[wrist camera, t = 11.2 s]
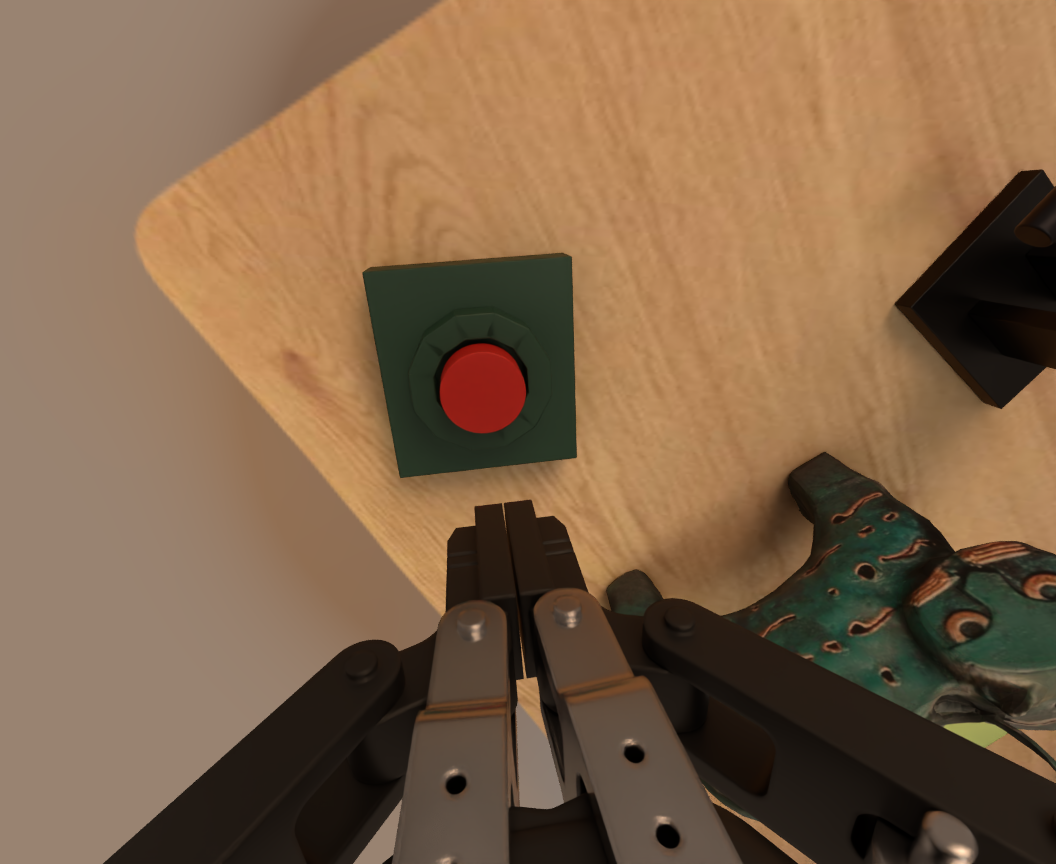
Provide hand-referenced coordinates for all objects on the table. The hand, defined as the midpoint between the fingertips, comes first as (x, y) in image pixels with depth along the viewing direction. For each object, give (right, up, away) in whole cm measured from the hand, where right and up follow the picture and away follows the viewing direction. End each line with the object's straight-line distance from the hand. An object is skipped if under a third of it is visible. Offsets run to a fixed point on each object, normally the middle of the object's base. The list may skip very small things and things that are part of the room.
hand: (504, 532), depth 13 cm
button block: (-2, +7, +15) cm, 17 cm away
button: (-2, +5, +12) cm, 13 cm away
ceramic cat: (+14, -4, +22) cm, 27 cm away
